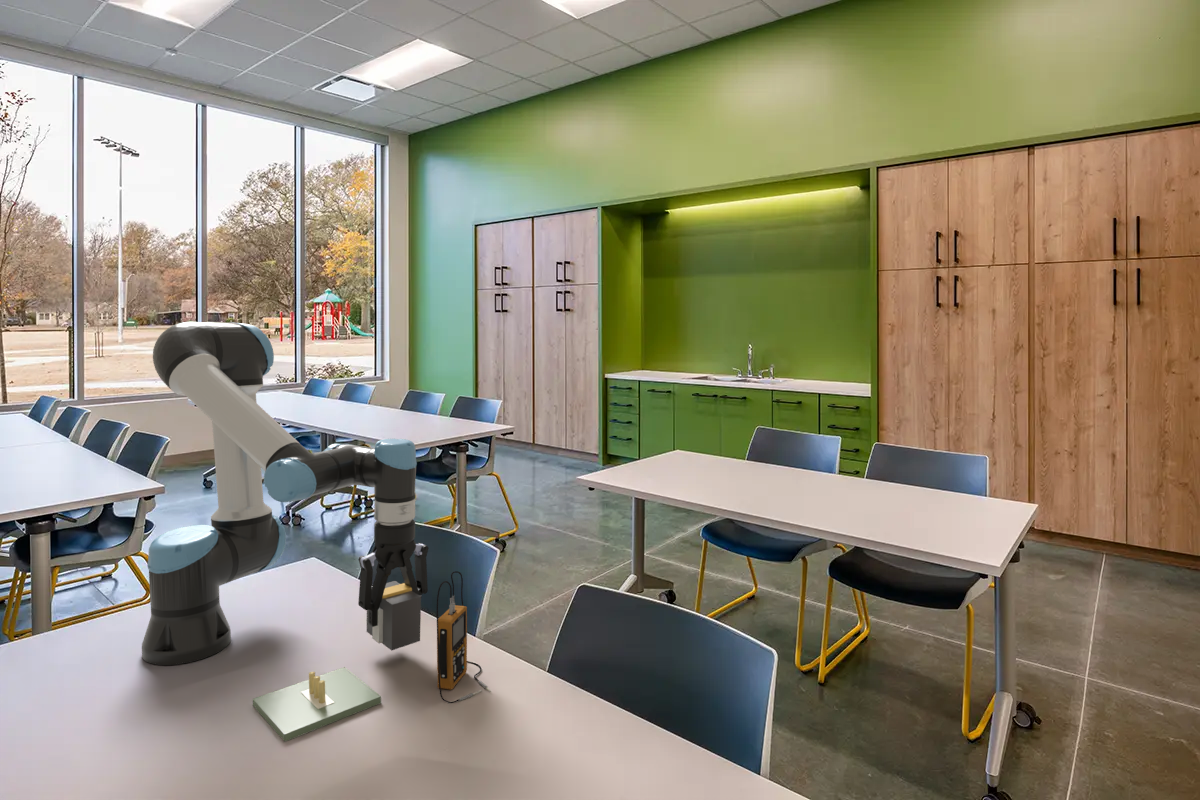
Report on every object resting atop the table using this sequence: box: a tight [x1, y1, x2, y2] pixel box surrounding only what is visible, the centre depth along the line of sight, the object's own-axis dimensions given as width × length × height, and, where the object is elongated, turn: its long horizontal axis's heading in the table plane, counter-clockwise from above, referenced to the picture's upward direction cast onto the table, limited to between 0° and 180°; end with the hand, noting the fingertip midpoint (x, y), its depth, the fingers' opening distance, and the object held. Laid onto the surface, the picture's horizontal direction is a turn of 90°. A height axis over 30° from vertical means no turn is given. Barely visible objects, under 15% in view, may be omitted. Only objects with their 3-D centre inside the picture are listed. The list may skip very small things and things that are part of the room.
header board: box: [252, 666, 382, 742], centre depth 115 cm, size 14×16×5 cm
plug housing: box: [366, 580, 422, 651], centre depth 131 cm, size 10×6×10 cm, turn 46°
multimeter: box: [436, 571, 492, 704], centre depth 122 cm, size 15×10×20 cm
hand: (393, 635), depth 132 cm, fingers closed on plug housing, 6 cm apart
